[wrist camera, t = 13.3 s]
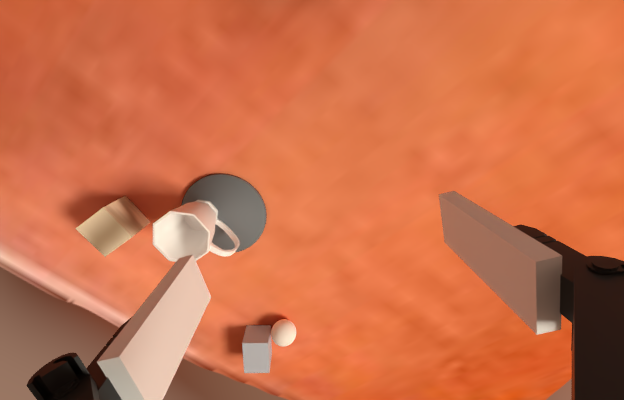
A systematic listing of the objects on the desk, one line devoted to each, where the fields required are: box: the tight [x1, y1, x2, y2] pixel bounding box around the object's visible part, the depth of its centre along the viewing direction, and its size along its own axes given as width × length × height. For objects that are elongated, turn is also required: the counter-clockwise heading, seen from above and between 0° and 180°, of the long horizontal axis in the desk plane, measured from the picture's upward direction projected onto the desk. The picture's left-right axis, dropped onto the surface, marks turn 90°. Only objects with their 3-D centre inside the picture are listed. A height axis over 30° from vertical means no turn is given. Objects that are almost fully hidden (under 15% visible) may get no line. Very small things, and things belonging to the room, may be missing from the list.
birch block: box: [76, 196, 150, 257], centre depth 41 cm, size 5×5×5 cm
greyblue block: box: [242, 325, 272, 373], centre depth 49 cm, size 6×4×4 cm, turn 179°
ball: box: [271, 319, 296, 346], centre depth 48 cm, size 4×4×4 cm
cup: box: [153, 200, 240, 262], centre depth 39 cm, size 7×10×8 cm
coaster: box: [182, 174, 266, 252], centre depth 43 cm, size 12×12×1 cm
